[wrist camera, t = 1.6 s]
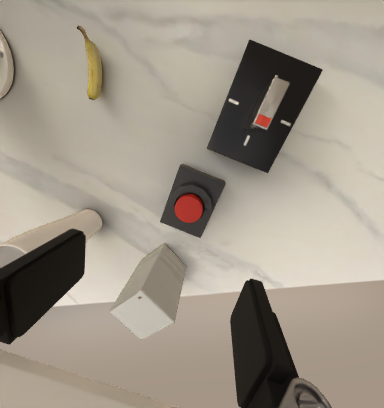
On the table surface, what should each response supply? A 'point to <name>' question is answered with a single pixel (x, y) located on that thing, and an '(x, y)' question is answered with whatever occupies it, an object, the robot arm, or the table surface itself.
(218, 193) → the box
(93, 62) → the banana
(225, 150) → the black flat block
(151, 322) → the white packaging box
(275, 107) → the red-tagged slide lever
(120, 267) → the table surface
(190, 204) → the red push button
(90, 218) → the drinking glass
